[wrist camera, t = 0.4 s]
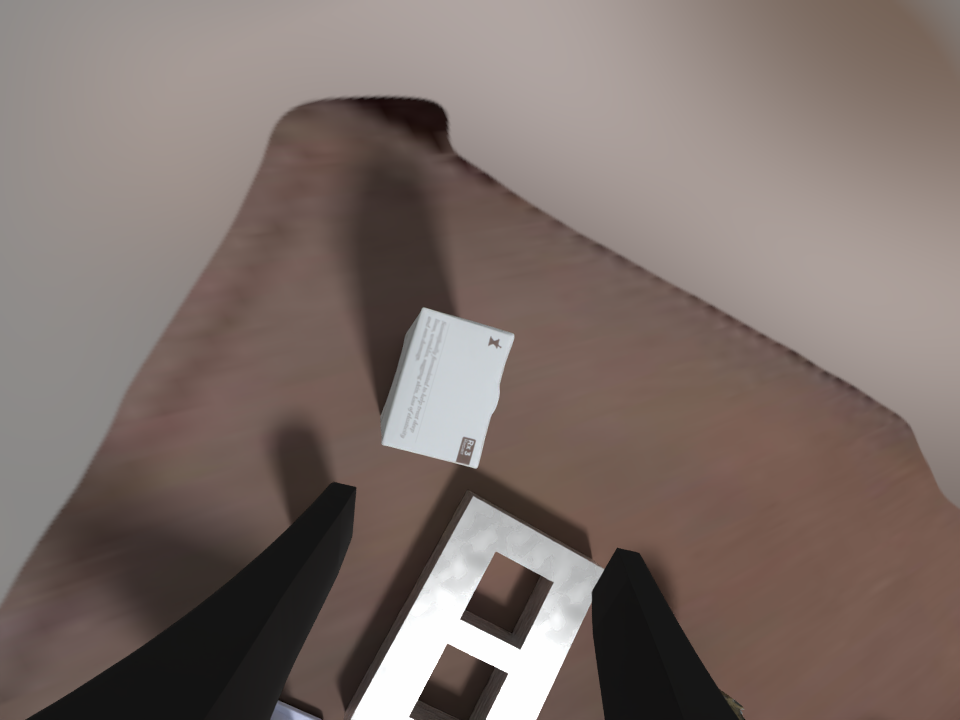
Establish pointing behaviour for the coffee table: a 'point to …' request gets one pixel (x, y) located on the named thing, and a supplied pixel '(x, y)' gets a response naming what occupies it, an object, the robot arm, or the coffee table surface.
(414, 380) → the skincare box
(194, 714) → the robot arm
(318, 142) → the coffee table surface
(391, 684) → the jig plate
